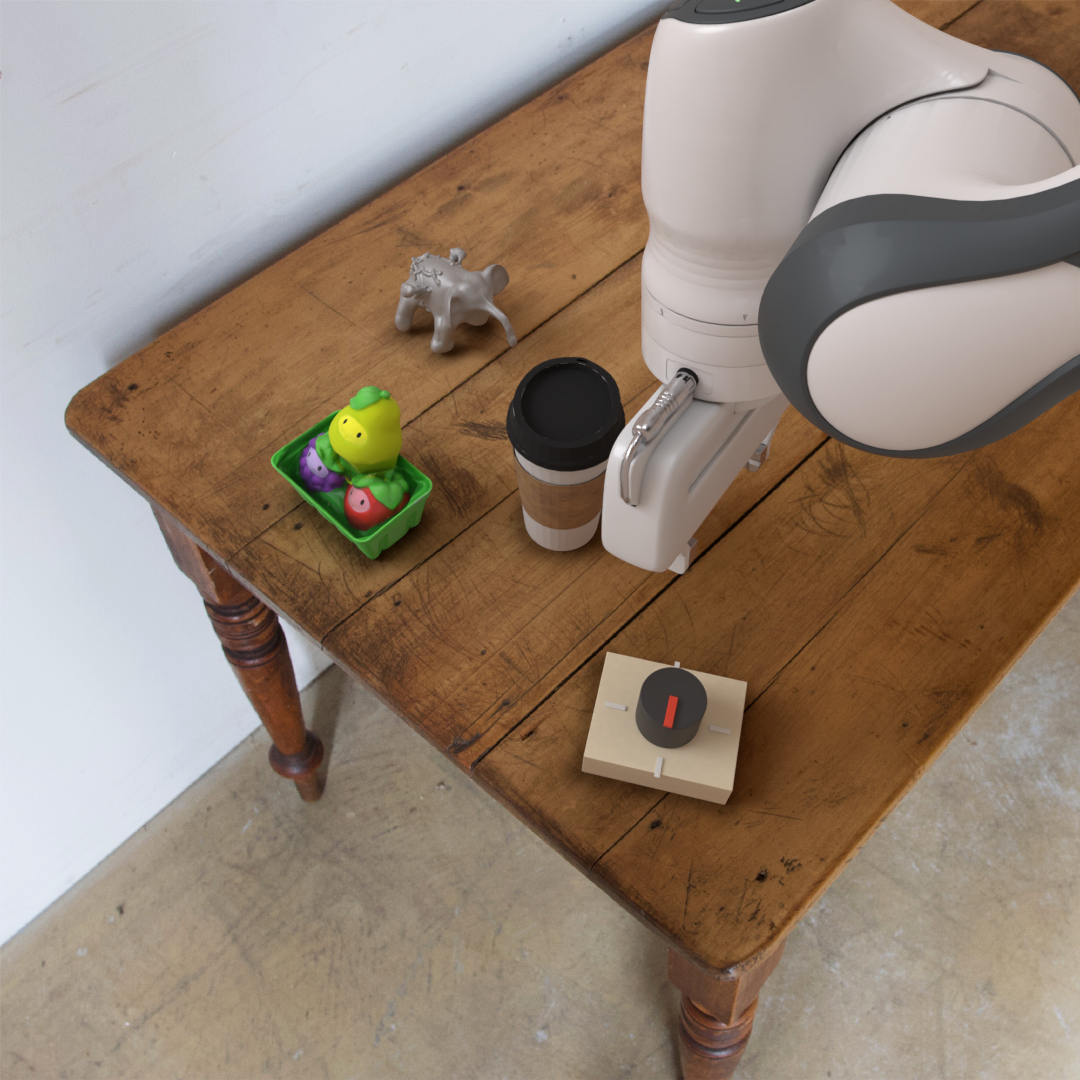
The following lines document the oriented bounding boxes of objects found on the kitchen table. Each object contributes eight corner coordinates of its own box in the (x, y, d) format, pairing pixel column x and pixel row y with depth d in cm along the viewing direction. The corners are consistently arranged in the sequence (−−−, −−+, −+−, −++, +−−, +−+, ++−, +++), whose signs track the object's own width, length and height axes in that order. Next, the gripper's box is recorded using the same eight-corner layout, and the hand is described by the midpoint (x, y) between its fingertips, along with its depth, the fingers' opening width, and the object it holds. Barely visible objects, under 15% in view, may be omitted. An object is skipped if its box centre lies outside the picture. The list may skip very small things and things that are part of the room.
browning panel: (740, 695, 72) (748, 677, 69) (724, 809, 68) (732, 794, 65) (605, 665, 73) (608, 646, 71) (580, 775, 69) (582, 759, 66)
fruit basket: (278, 496, 81) (245, 407, 71) (361, 435, 84) (340, 342, 75) (370, 581, 77) (348, 497, 67) (453, 513, 80) (443, 424, 71)
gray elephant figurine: (428, 283, 94) (420, 217, 88) (545, 317, 92) (547, 252, 86) (384, 349, 90) (373, 286, 83) (507, 387, 87) (505, 325, 81)
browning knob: (642, 681, 69) (648, 657, 66) (704, 696, 69) (713, 673, 65) (629, 739, 67) (634, 717, 64) (693, 756, 66) (701, 734, 63)
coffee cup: (625, 493, 81) (642, 368, 69) (596, 577, 77) (609, 461, 64) (527, 467, 83) (527, 340, 70) (494, 549, 78) (487, 430, 66)
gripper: (685, 470, 43) (677, 655, 53) (869, 236, 53) (832, 428, 64) (562, 422, 45) (577, 607, 56) (761, 208, 56) (743, 397, 66)
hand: (715, 510), depth 60 cm, fingers open, 8 cm apart
